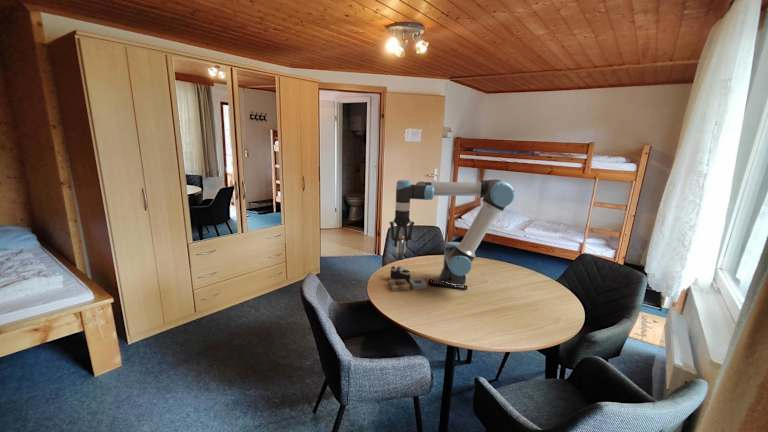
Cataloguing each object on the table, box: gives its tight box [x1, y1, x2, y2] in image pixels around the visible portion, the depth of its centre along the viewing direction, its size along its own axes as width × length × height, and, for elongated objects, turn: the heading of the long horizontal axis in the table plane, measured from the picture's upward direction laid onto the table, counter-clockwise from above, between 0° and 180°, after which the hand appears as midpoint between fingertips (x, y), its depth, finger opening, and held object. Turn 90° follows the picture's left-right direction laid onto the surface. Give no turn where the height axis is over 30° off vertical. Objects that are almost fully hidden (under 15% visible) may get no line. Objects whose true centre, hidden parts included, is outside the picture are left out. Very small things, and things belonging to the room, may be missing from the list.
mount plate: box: [409, 278, 428, 290], centre depth 184 cm, size 8×8×2 cm
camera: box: [390, 265, 412, 285], centre depth 192 cm, size 13×8×9 cm, turn 59°
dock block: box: [387, 279, 411, 293], centre depth 181 cm, size 10×10×2 cm
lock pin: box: [396, 234, 405, 261], centre depth 177 cm, size 4×4×13 cm
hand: (400, 252), depth 177 cm, fingers closed on lock pin, 3 cm apart
